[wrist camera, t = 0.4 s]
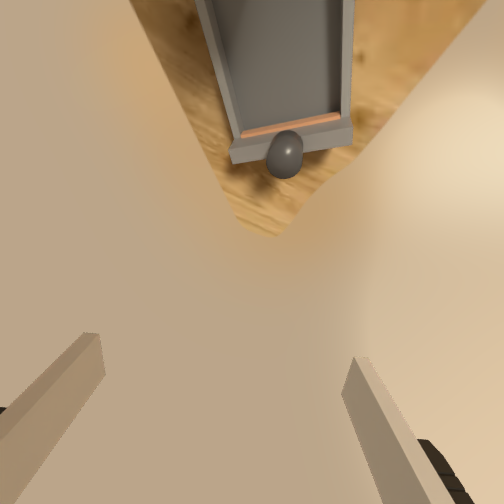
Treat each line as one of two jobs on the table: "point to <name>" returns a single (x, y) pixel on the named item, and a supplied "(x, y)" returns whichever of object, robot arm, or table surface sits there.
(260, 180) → the table surface
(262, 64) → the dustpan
